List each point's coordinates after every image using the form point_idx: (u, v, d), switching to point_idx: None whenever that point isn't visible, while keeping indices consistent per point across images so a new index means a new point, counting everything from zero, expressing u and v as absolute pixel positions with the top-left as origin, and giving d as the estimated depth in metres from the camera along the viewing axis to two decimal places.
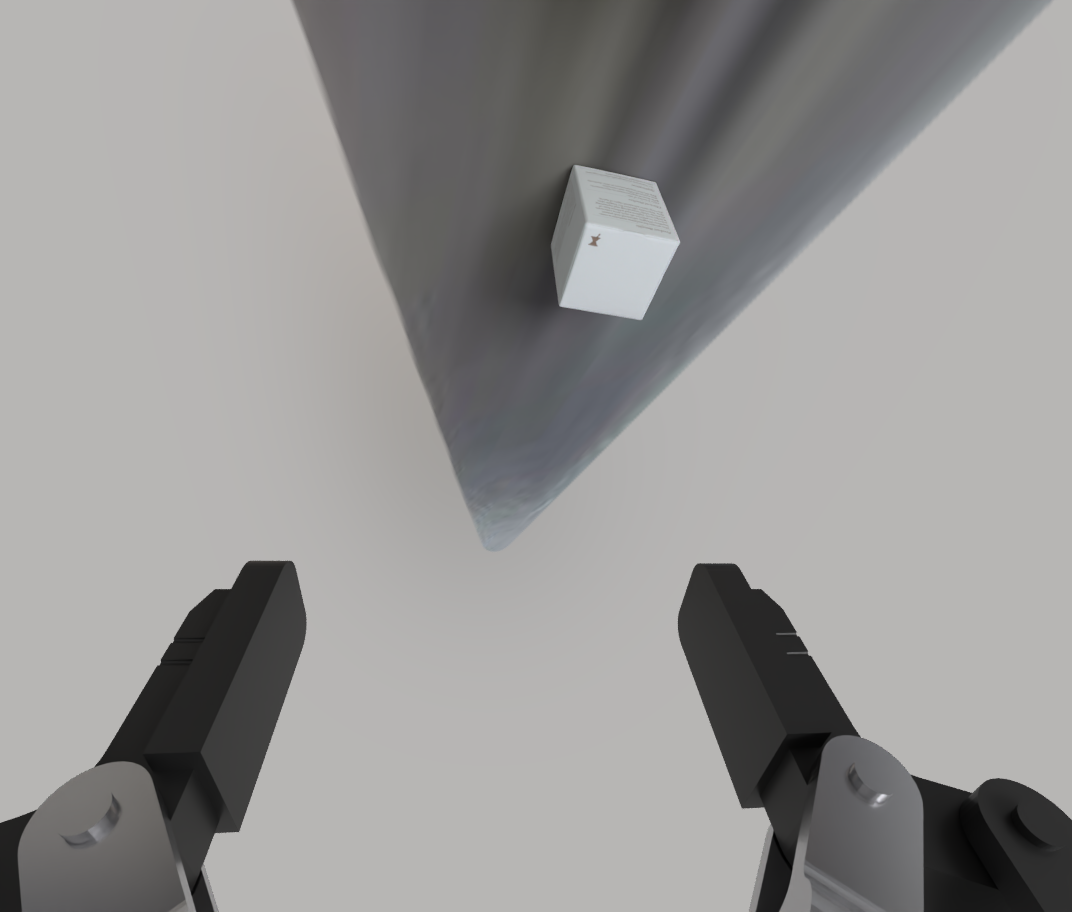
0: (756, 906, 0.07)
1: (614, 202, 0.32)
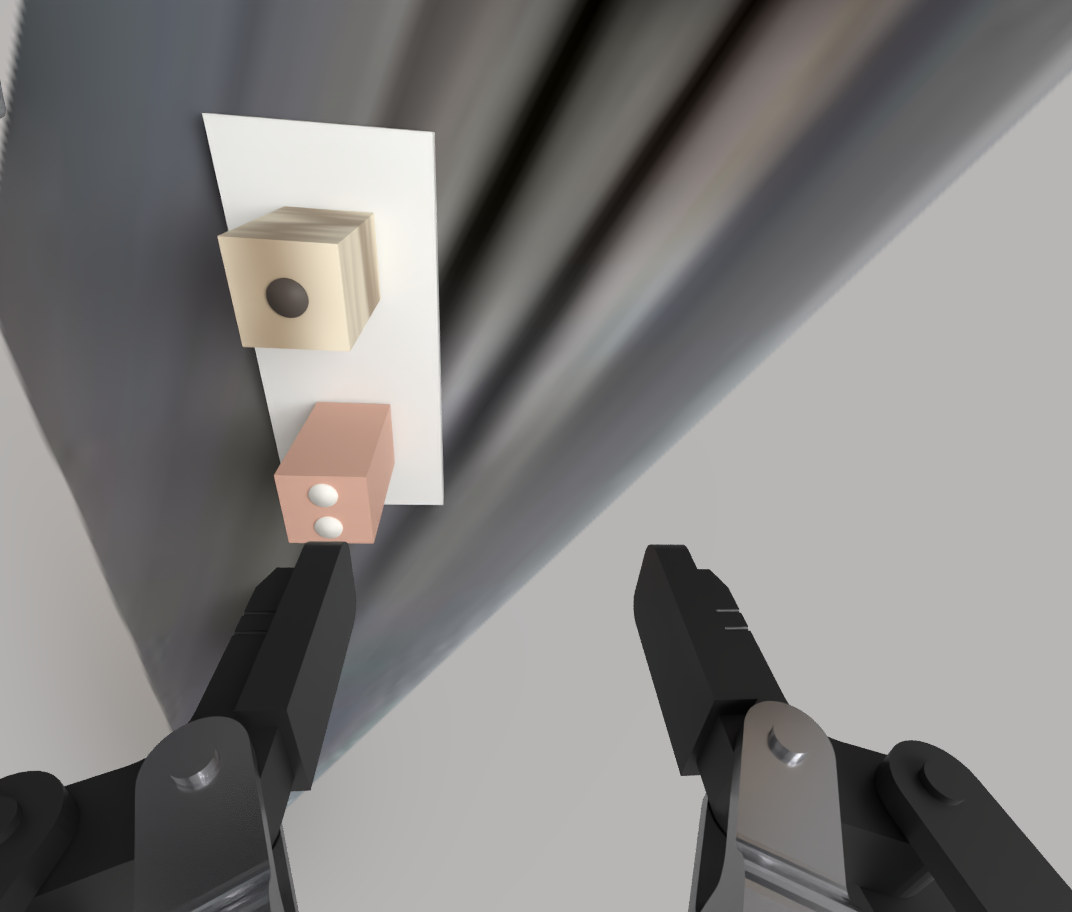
0: (697, 880, 0.08)
1: None
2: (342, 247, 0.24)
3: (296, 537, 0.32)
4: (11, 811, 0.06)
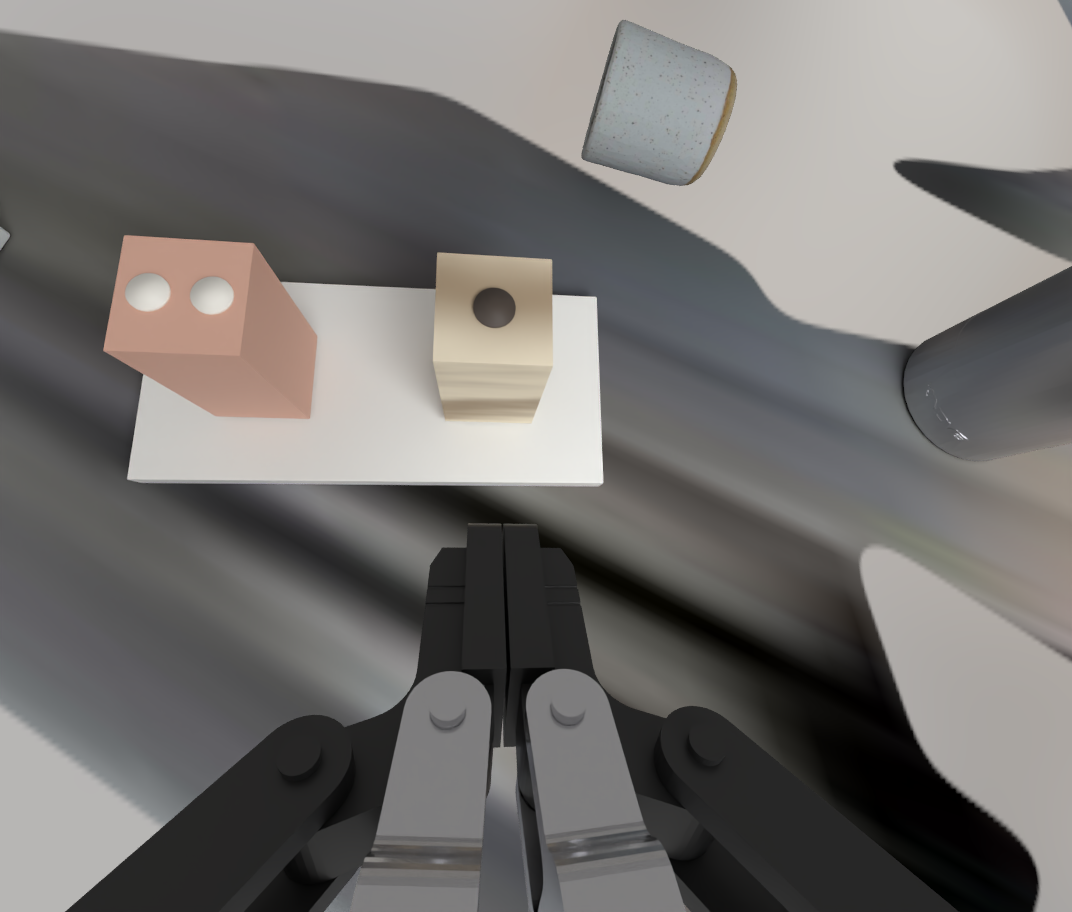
0: (529, 878, 0.07)
1: None
2: (543, 372, 0.23)
3: (133, 246, 0.21)
4: (312, 748, 0.07)
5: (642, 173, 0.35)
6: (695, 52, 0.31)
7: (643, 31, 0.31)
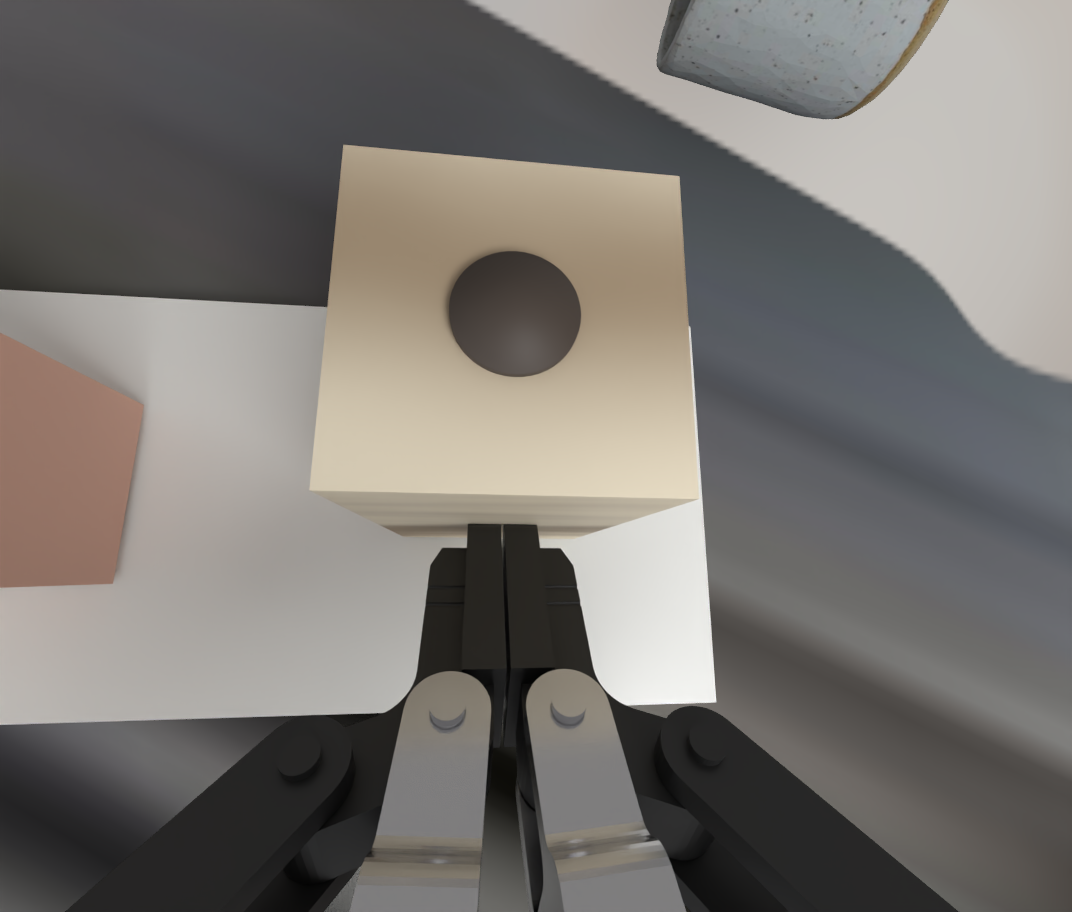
0: (529, 878, 0.07)
1: None
2: (658, 505, 0.08)
3: None
4: (312, 748, 0.07)
5: (769, 92, 0.20)
6: None
7: None
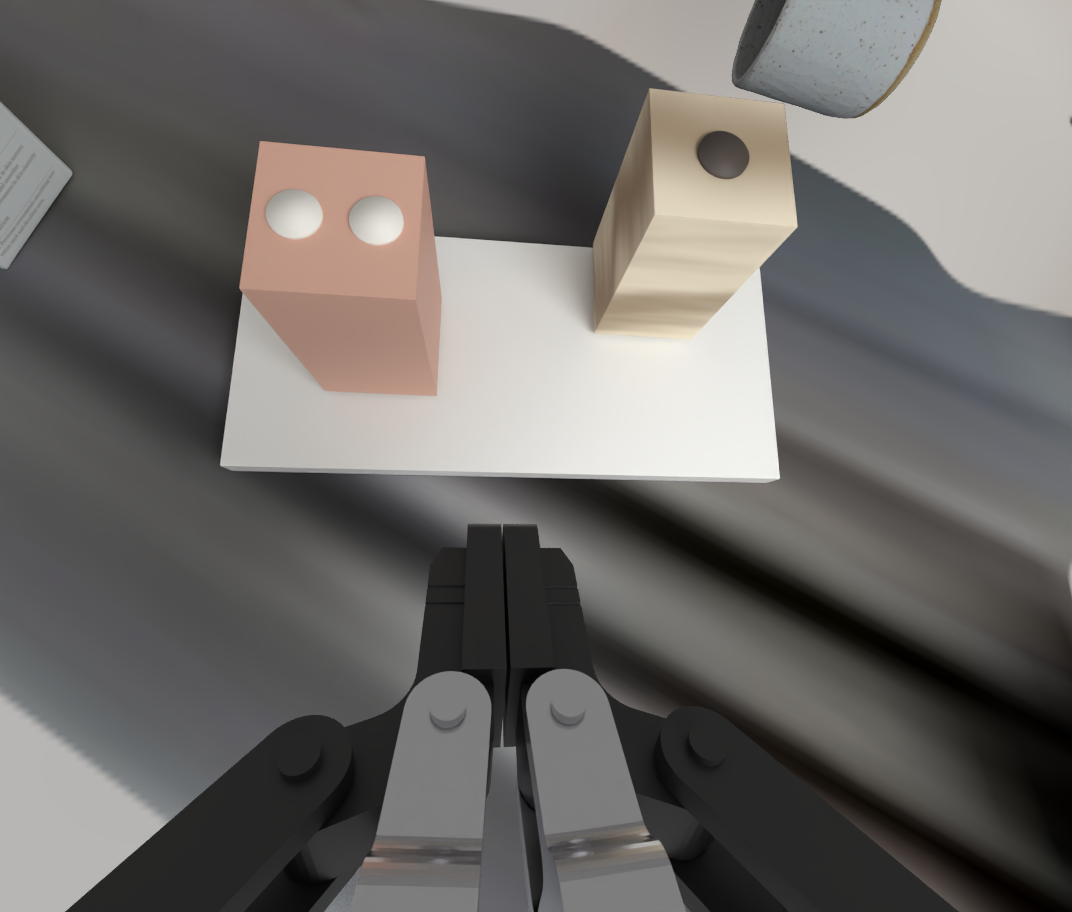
0: (529, 878, 0.07)
1: None
2: (776, 239, 0.19)
3: (273, 155, 0.16)
4: (312, 748, 0.07)
5: (810, 101, 0.30)
6: None
7: None
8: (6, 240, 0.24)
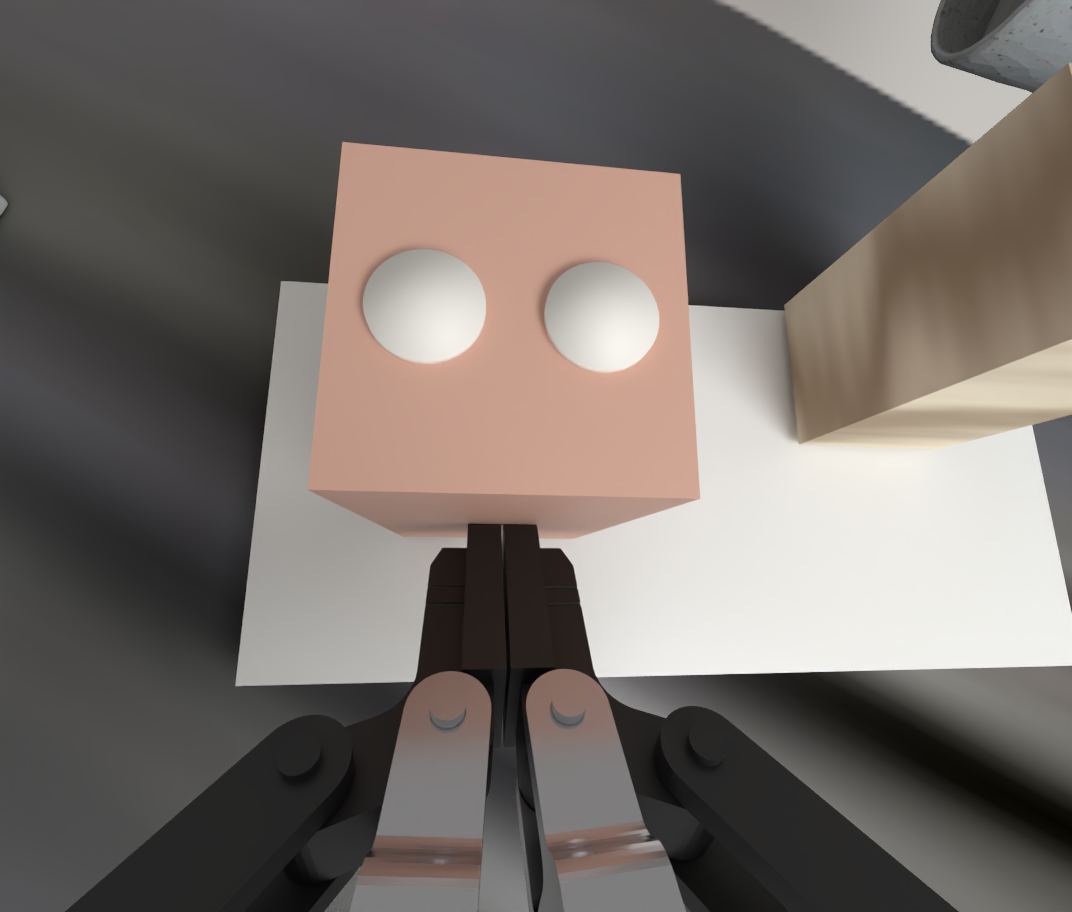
0: (529, 878, 0.07)
1: None
2: None
3: (371, 174, 0.07)
4: (312, 748, 0.07)
5: None
6: None
7: None
8: None
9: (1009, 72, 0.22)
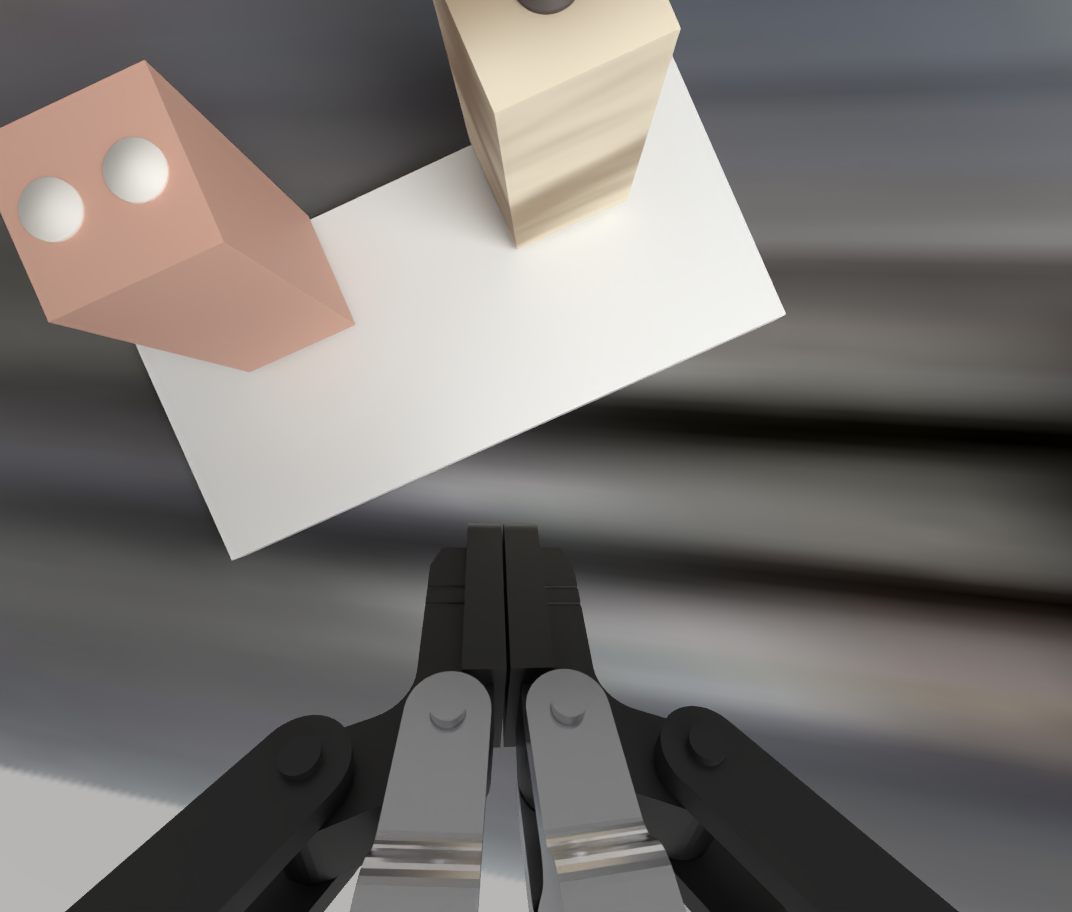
0: (529, 878, 0.07)
1: None
2: (663, 56, 0.14)
3: None
4: (312, 748, 0.07)
5: None
6: None
7: None
8: None
9: None
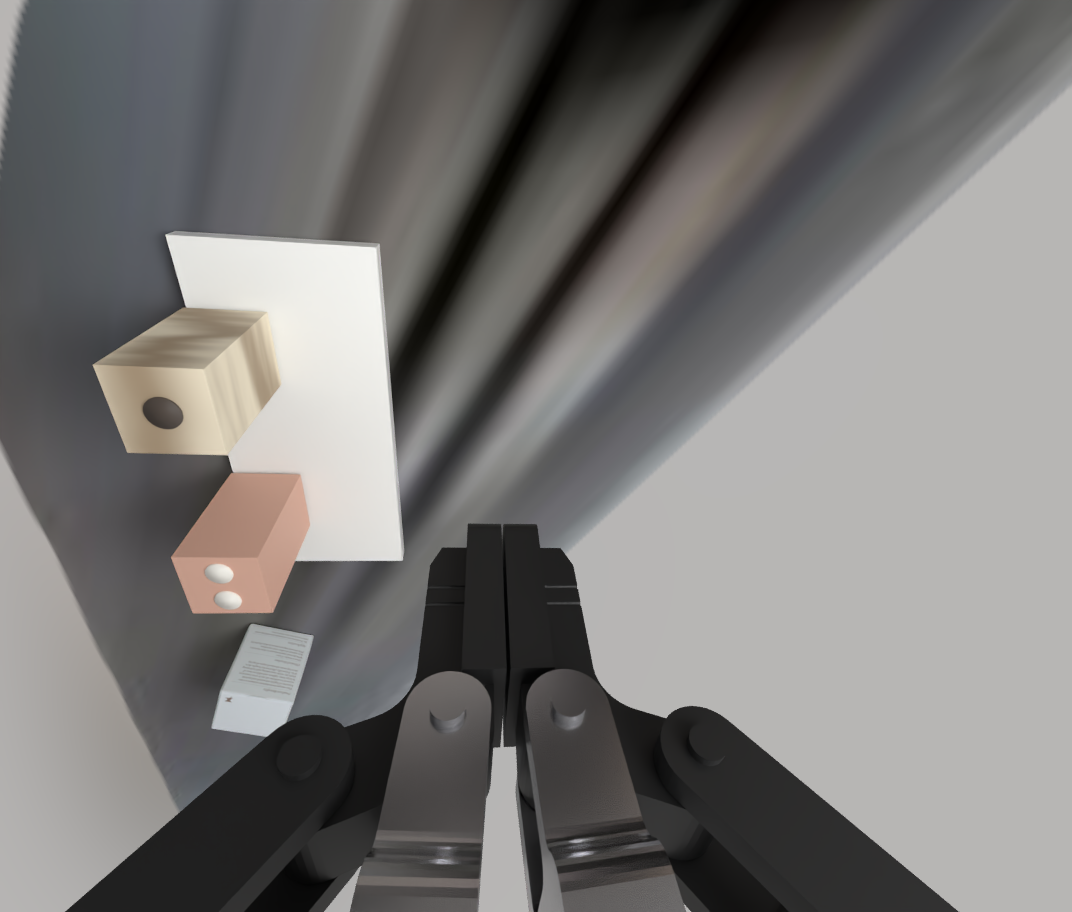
0: (529, 878, 0.07)
1: (260, 664, 0.47)
2: (211, 368, 0.27)
3: (199, 608, 0.34)
4: (312, 748, 0.07)
5: None
6: None
7: None
8: (299, 639, 0.51)
9: None
